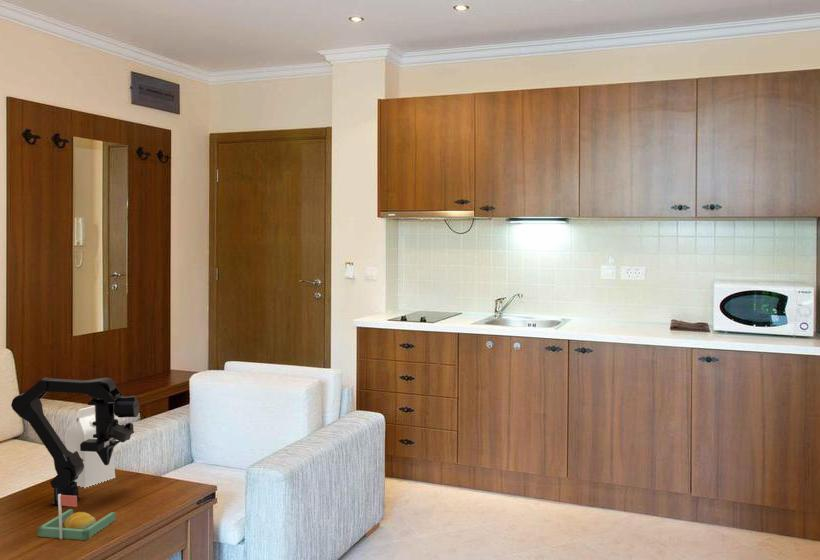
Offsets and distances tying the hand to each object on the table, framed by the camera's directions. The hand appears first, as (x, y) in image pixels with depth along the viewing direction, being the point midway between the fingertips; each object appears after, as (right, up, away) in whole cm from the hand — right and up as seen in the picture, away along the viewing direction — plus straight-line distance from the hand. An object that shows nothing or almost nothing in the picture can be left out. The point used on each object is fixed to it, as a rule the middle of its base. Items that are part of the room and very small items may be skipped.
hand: (106, 464), depth 231 cm
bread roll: (0, -14, -19) cm, 24 cm away
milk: (-15, -11, +21) cm, 28 cm away
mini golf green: (0, -13, -20) cm, 24 cm away
